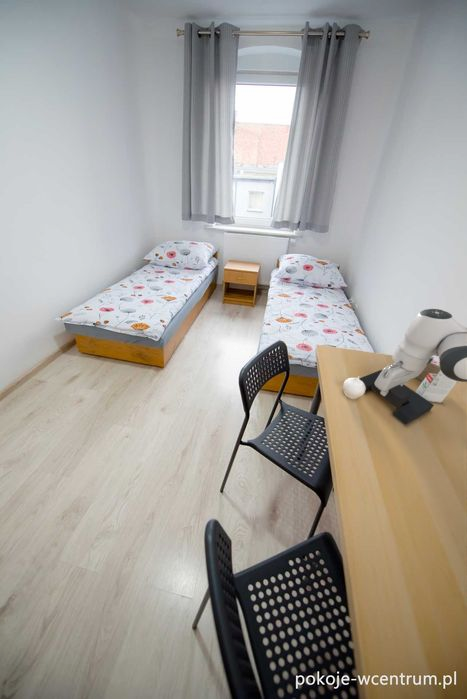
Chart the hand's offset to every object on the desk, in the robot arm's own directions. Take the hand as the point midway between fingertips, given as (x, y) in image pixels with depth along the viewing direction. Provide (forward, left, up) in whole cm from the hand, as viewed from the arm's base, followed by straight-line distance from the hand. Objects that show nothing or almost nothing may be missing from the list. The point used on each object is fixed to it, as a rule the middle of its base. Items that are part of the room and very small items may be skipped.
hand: (390, 391), depth 93 cm
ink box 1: (+3, -25, -4) cm, 26 cm away
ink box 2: (-6, -16, -4) cm, 18 cm away
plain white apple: (+7, +10, -4) cm, 13 cm away
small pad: (0, 0, -2) cm, 2 cm away
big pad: (0, -3, -4) cm, 5 cm away
